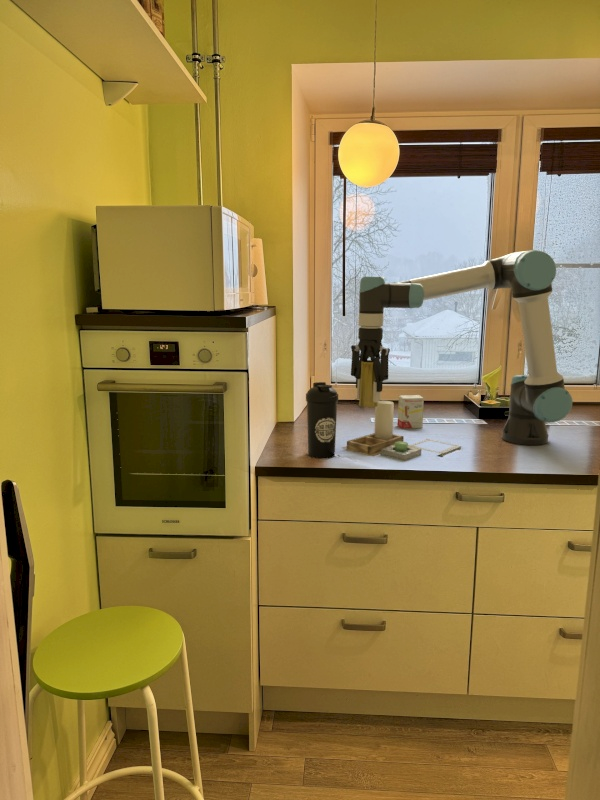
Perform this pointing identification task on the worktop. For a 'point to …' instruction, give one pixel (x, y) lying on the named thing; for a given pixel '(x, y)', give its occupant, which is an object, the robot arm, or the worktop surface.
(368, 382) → the vase
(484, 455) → the worktop surface
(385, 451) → the square block with hole
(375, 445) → the wooden divided tray
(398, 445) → the button
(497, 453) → the worktop surface
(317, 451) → the water bottle
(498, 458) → the worktop surface
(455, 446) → the rim
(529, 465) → the worktop surface
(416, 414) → the ink box
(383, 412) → the cream rounded cylinder
